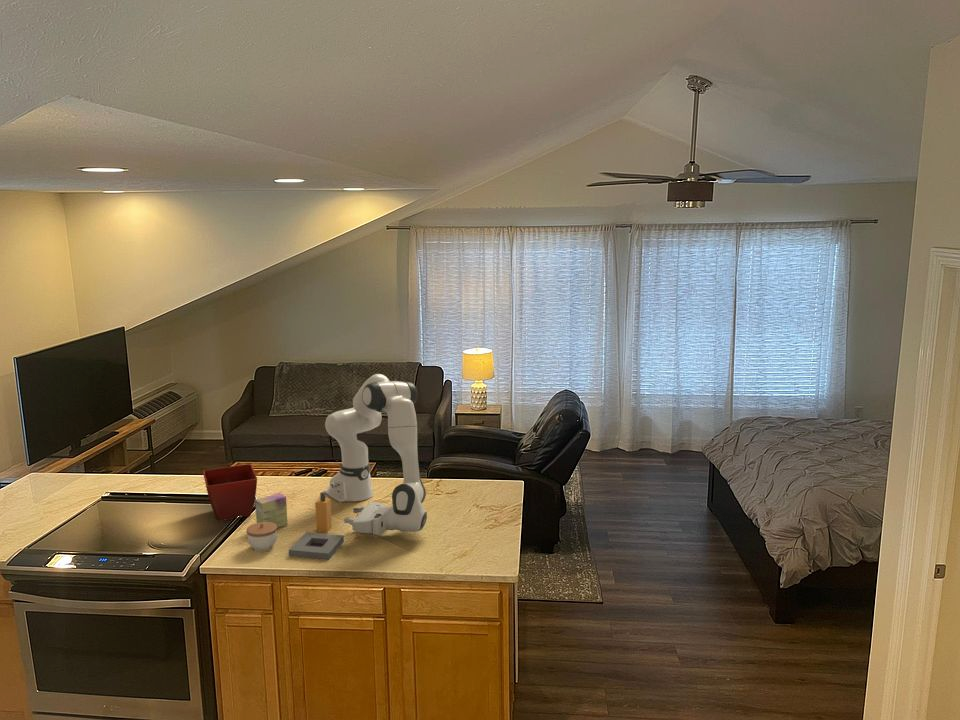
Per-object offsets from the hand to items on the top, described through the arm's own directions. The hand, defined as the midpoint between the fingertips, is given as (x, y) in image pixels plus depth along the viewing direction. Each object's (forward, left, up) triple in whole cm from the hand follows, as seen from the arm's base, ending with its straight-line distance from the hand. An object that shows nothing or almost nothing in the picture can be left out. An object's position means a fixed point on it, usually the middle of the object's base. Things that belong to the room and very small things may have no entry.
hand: (349, 514), depth 279 cm
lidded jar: (-14, -29, -7) cm, 33 cm away
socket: (+2, -17, -7) cm, 19 cm away
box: (-27, -16, -7) cm, 32 cm away
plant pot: (-50, -19, -7) cm, 54 cm away
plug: (-9, -5, -7) cm, 12 cm away
